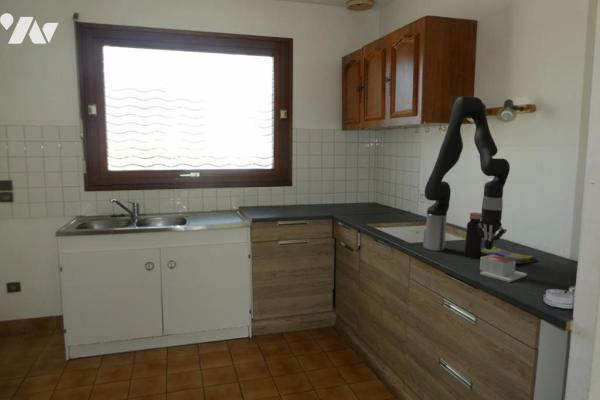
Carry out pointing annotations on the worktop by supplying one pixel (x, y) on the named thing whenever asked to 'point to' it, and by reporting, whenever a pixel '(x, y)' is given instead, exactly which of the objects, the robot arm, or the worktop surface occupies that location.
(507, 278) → the mat
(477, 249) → the bottle
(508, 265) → the small box
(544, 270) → the worktop surface
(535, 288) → the worktop surface
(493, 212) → the robot arm
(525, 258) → the dish towel
